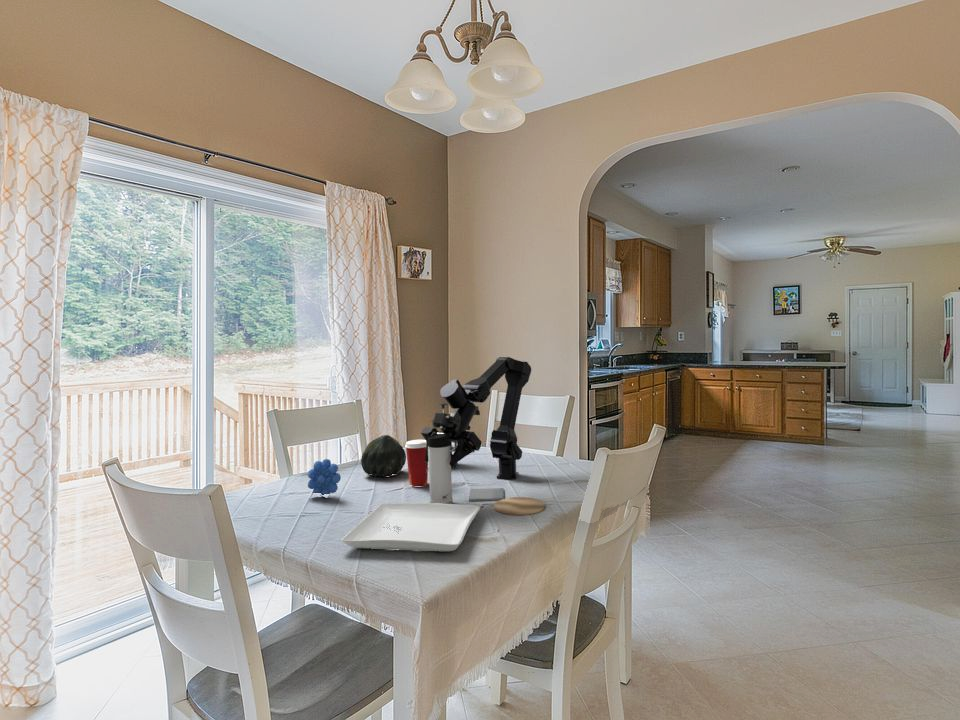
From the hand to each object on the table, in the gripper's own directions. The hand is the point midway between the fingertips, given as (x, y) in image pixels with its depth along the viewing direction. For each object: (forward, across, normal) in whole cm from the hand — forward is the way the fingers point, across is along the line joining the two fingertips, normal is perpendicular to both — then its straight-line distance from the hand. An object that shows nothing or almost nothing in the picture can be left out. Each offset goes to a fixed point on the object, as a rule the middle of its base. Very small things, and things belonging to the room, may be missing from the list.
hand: (437, 463), depth 149 cm
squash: (-2, -38, +19) cm, 43 cm away
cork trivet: (+1, +20, +16) cm, 25 cm away
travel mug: (+8, 0, +9) cm, 12 cm away
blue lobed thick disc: (+17, -35, 0) cm, 39 cm away
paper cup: (0, -19, +17) cm, 26 cm away
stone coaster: (-2, +6, +18) cm, 19 cm away
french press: (-16, -28, +33) cm, 46 cm away
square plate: (+22, +9, -4) cm, 24 cm away
